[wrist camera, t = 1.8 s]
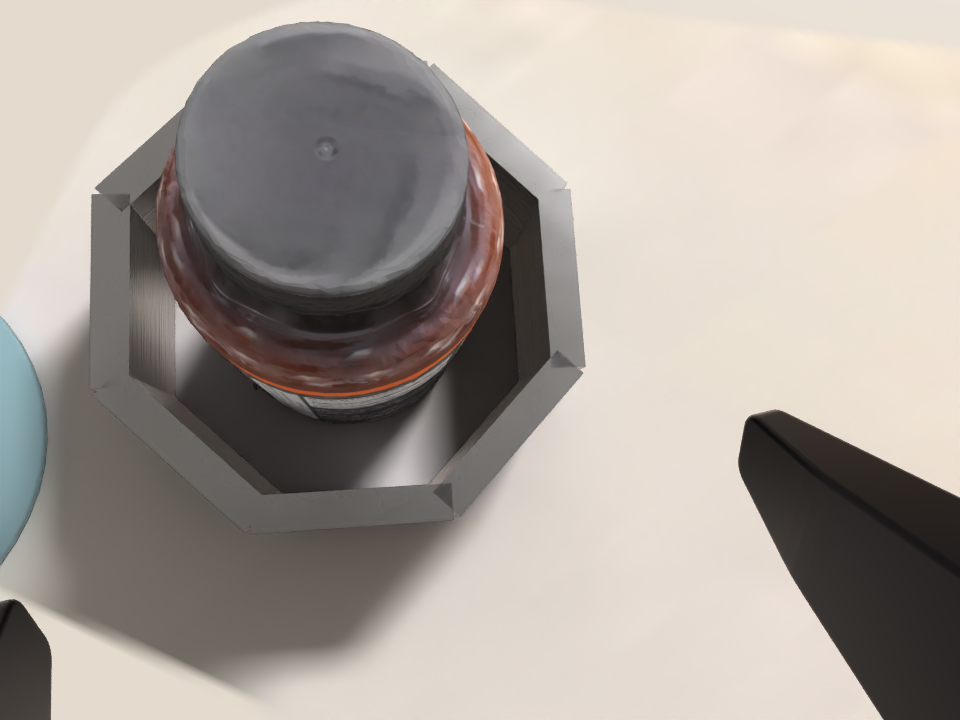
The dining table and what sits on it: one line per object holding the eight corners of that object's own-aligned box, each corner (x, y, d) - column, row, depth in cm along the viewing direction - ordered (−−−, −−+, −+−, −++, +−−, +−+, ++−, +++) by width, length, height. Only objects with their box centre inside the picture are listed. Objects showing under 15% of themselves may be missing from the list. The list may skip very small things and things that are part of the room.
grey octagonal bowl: (361, 607, 20) (358, 635, 17) (53, 330, 21) (-22, 292, 17) (618, 310, 23) (668, 273, 19) (339, 61, 23) (332, -28, 19)
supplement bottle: (234, 219, 22) (91, -63, 11) (449, 213, 23) (523, -53, 11) (241, 436, 21) (91, 376, 10) (465, 421, 22) (561, 351, 11)
